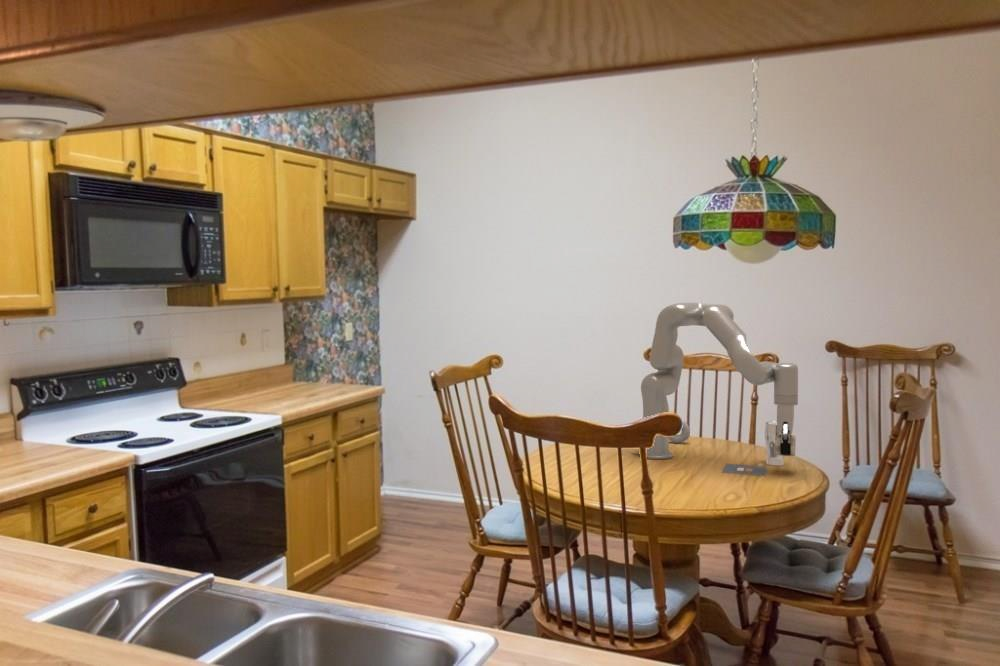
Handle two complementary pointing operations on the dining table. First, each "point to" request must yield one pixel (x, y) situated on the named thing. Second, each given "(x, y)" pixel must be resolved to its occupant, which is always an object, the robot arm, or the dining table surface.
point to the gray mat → (745, 469)
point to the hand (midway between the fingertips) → (785, 452)
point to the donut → (683, 435)
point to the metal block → (792, 441)
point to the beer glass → (772, 444)
